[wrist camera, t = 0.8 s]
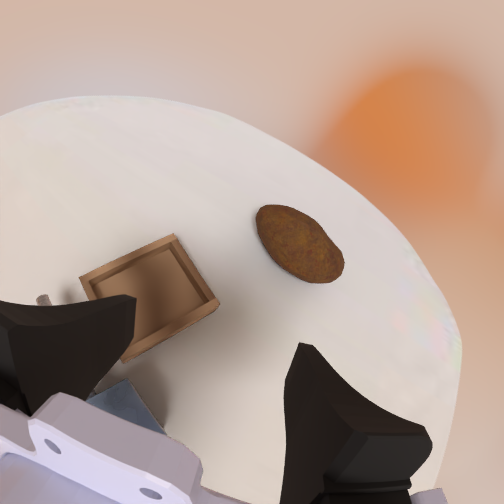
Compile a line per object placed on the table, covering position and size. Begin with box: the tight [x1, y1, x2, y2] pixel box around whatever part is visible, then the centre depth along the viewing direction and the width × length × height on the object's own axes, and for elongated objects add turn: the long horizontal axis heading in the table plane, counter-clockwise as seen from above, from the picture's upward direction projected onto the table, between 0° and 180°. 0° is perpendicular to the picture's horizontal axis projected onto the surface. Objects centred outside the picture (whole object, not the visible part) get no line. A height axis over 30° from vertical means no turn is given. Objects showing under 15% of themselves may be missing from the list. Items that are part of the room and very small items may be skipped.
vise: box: [36, 294, 167, 436], centre depth 18 cm, size 7×15×6 cm, turn 38°
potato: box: [256, 205, 345, 283], centre depth 31 cm, size 7×12×7 cm, turn 64°
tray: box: [79, 233, 220, 364], centre depth 26 cm, size 10×8×2 cm
